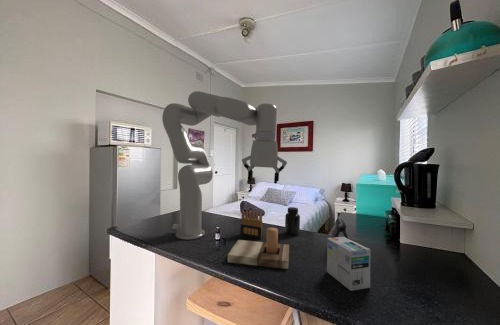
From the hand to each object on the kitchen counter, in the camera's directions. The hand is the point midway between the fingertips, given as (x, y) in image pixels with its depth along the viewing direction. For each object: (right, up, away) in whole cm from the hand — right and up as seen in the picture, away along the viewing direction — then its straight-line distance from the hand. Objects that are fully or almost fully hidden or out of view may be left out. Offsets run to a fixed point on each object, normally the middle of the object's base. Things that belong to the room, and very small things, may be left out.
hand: (262, 182), depth 83 cm
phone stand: (+29, -27, 0) cm, 40 cm away
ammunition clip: (-4, -26, +15) cm, 30 cm away
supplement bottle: (+15, -26, +20) cm, 36 cm away
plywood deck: (-1, -26, -5) cm, 27 cm away
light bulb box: (+23, -27, -20) cm, 41 cm away
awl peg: (+3, -26, -6) cm, 27 cm away
